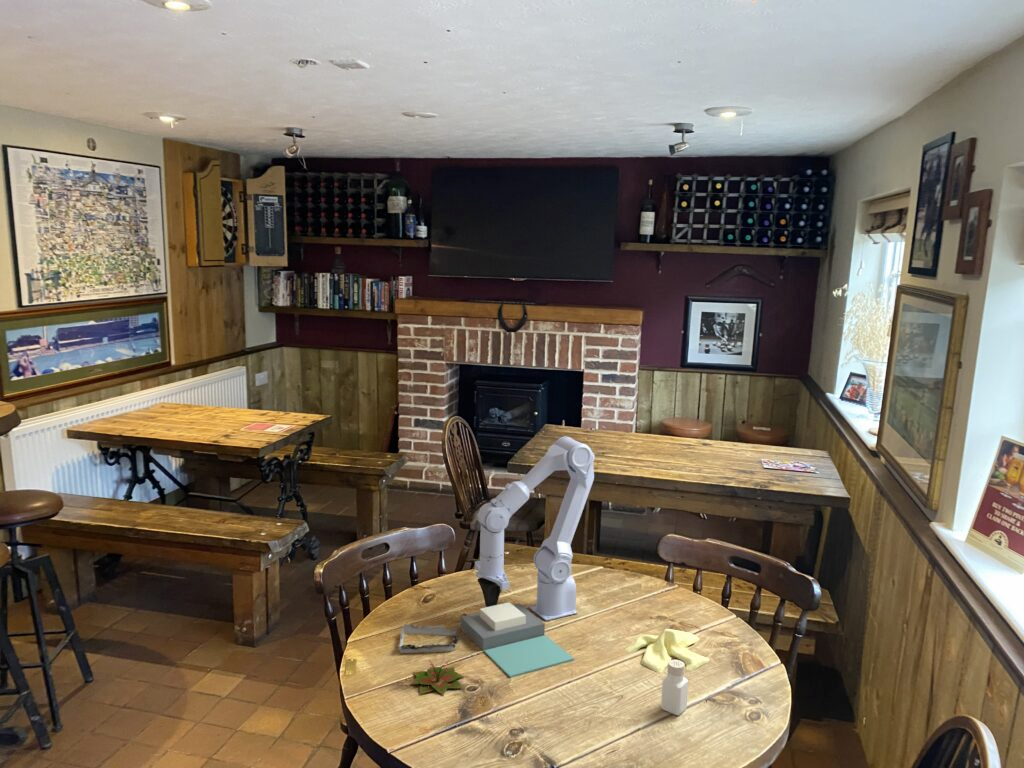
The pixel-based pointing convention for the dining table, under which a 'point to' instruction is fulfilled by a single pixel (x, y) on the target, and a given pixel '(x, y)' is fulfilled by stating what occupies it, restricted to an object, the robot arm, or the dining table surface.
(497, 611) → the coaster
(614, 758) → the dining table surface
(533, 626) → the riser
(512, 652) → the drip mat
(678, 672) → the pepper shaker
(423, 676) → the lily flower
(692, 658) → the cloth
